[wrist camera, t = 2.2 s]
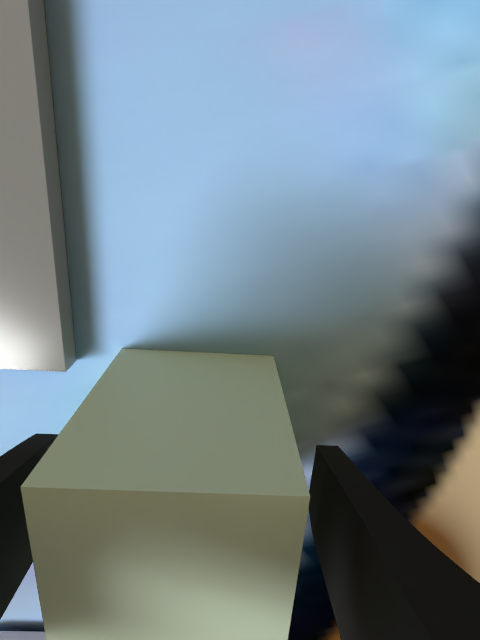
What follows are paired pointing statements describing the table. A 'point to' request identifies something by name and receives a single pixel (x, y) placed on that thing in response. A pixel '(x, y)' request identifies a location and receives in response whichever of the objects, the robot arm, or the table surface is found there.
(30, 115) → the coaster
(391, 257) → the table surface
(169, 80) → the table surface
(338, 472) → the robot arm
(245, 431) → the block
